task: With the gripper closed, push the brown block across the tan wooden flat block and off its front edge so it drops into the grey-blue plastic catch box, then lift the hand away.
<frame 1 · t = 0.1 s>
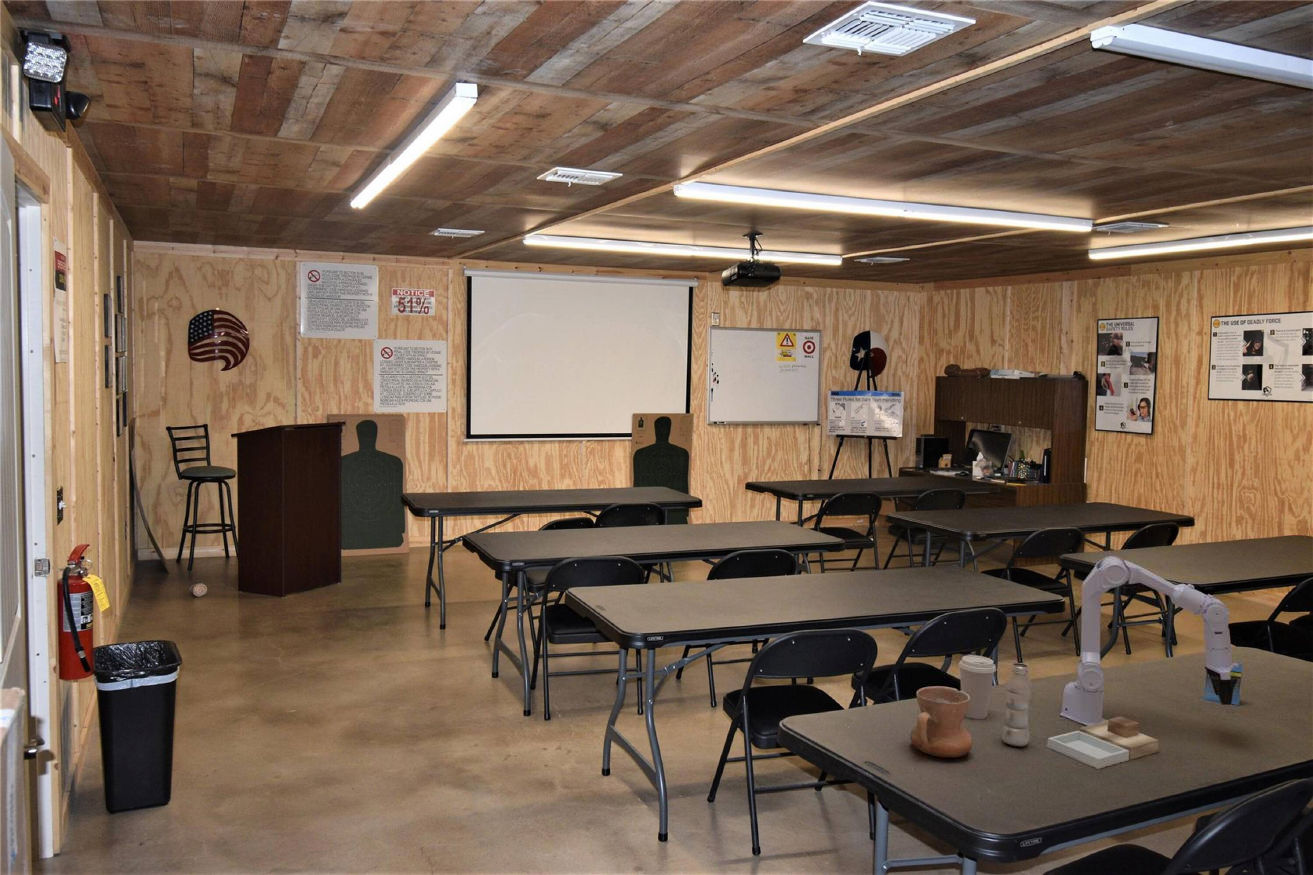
hand: (1223, 699, 252), 11 cm above the table, tool pointing down, fingers open, 7 cm apart
tan wooden flat block: (1117, 745, 246), on the table
brown block: (1122, 732, 247), point 3 cm above the table, touching tan wooden flat block
coffee cup: (974, 715, 265), on the table
label tape box: (1221, 701, 284), on the table
ceramic jug: (938, 752, 238), on the table
catch box: (1087, 753, 240), on the table
plastic bottle: (1014, 744, 245), on the table
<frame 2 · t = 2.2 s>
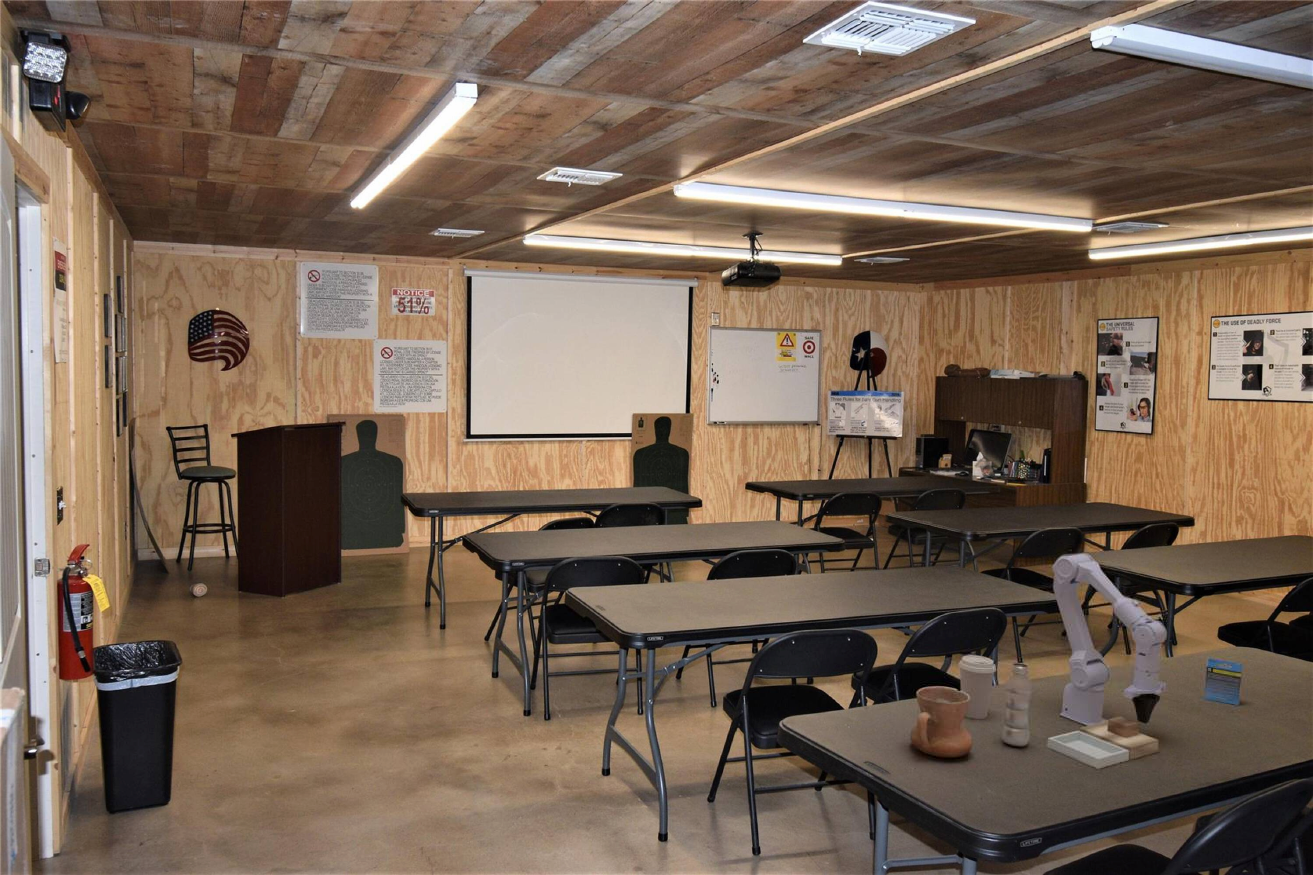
hand: (1142, 721, 251), 5 cm above the table, tool pointing down, fingers closed
nothing on the table moved.
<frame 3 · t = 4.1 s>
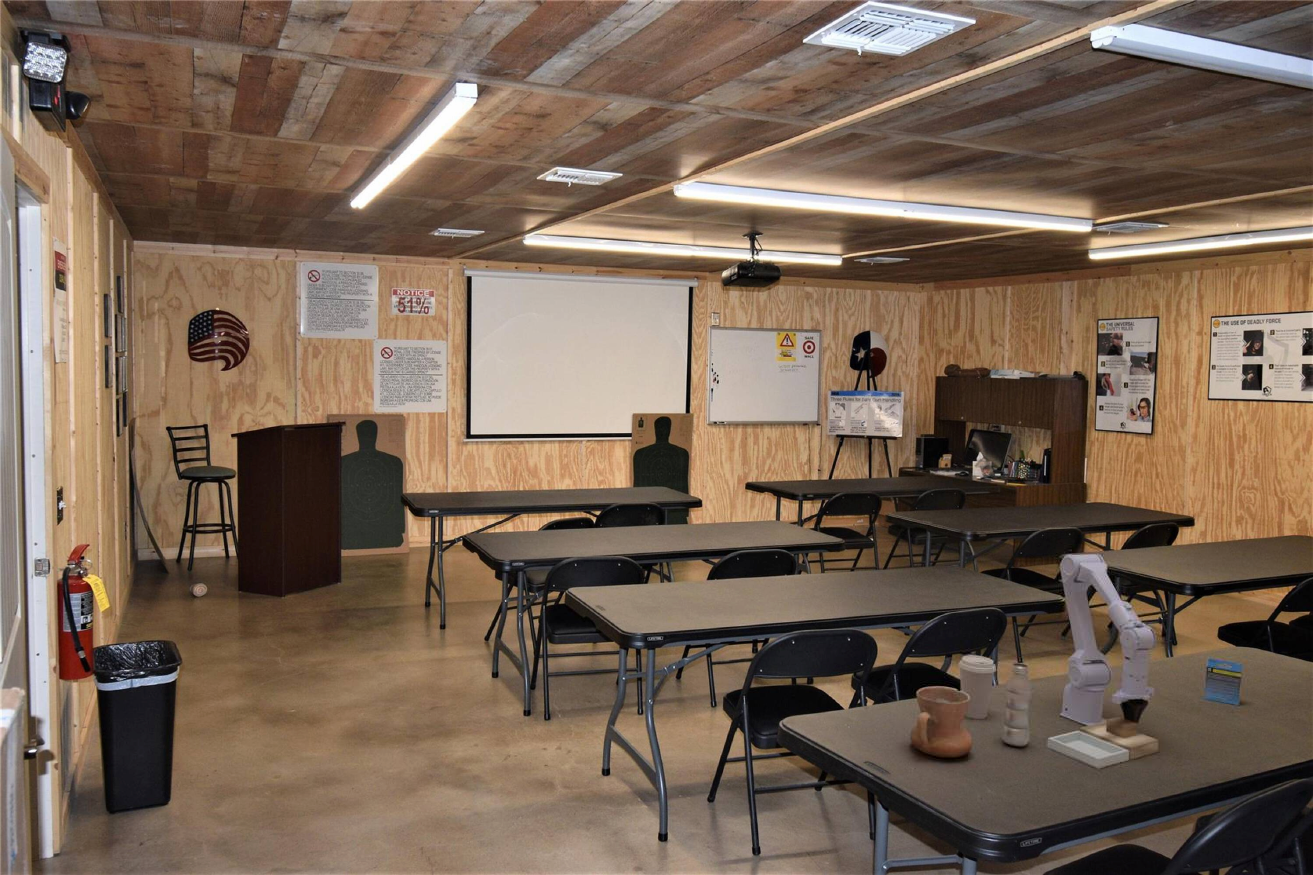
hand: (1130, 727, 249), 4 cm above the table, tool pointing down, fingers closed
brown block: (1121, 733, 247), point 3 cm above the table
everything else where it was.
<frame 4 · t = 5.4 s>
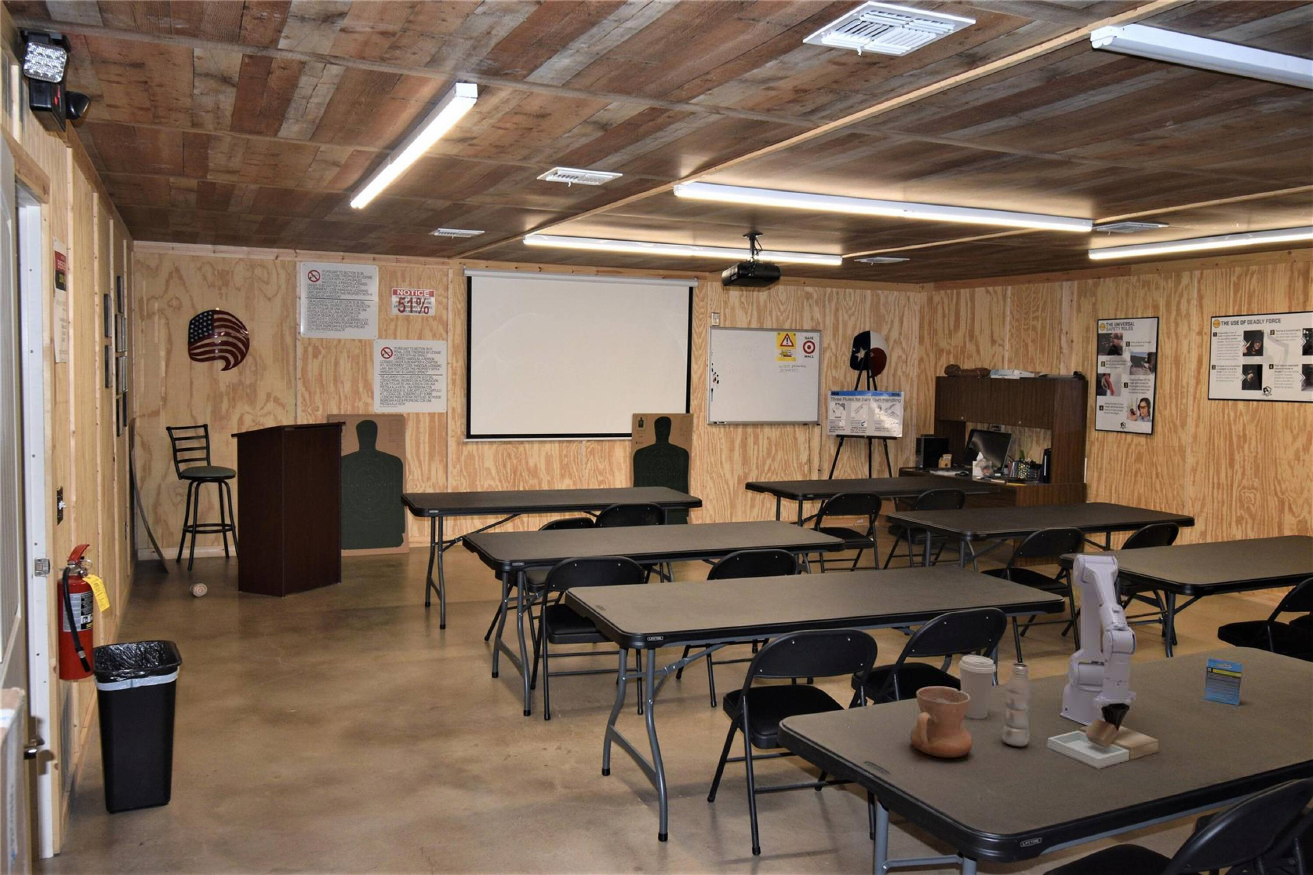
hand: (1112, 731, 245), 4 cm above the table, tool pointing down, fingers closed
brown block: (1103, 736, 243), point 3 cm above the table, tilted 39°, touching catch box
everything else where it was.
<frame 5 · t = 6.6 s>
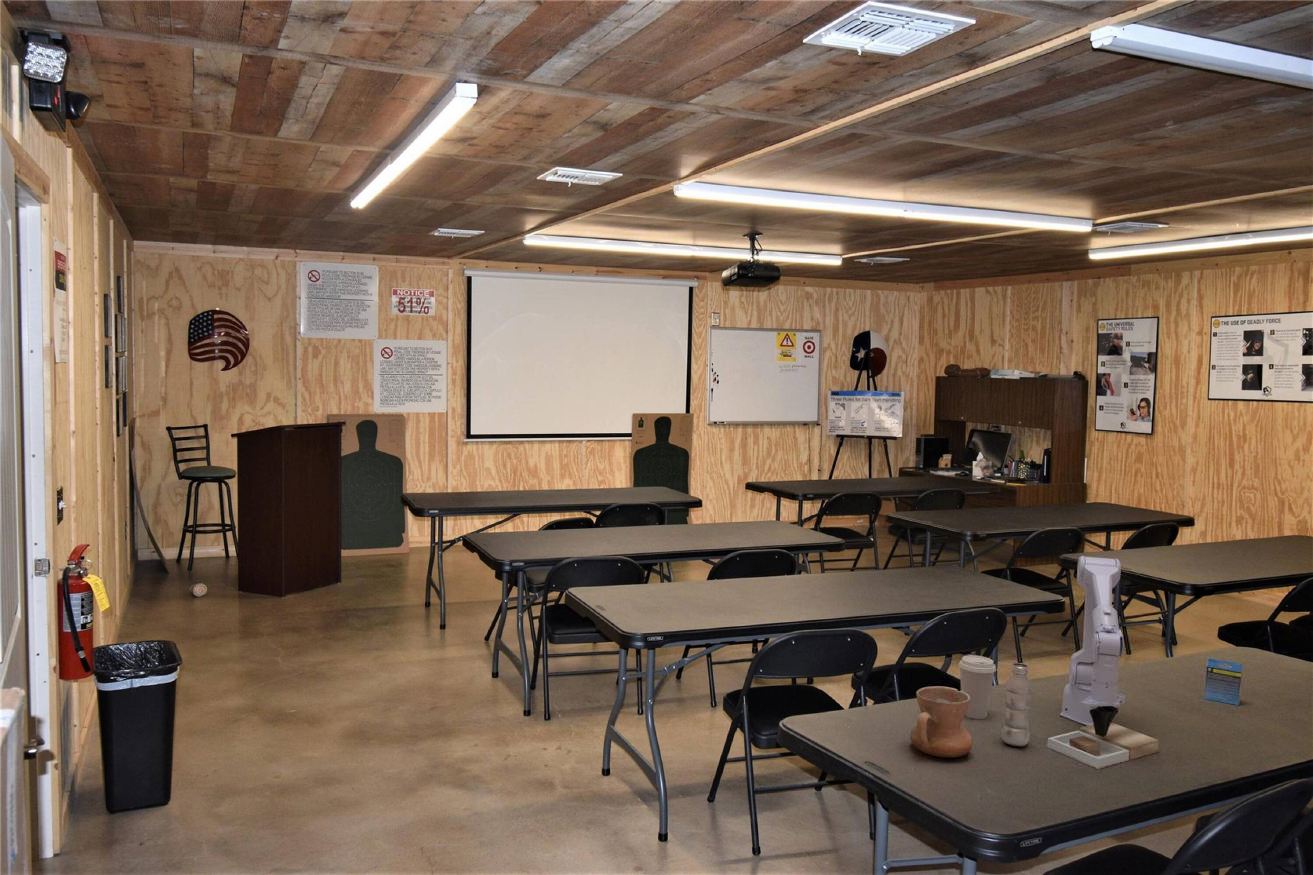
hand: (1100, 734, 242), 4 cm above the table, tool pointing down, fingers closed
brown block: (1085, 740, 240), point 3 cm above the table, tilted 180°, touching catch box
everything else where it was.
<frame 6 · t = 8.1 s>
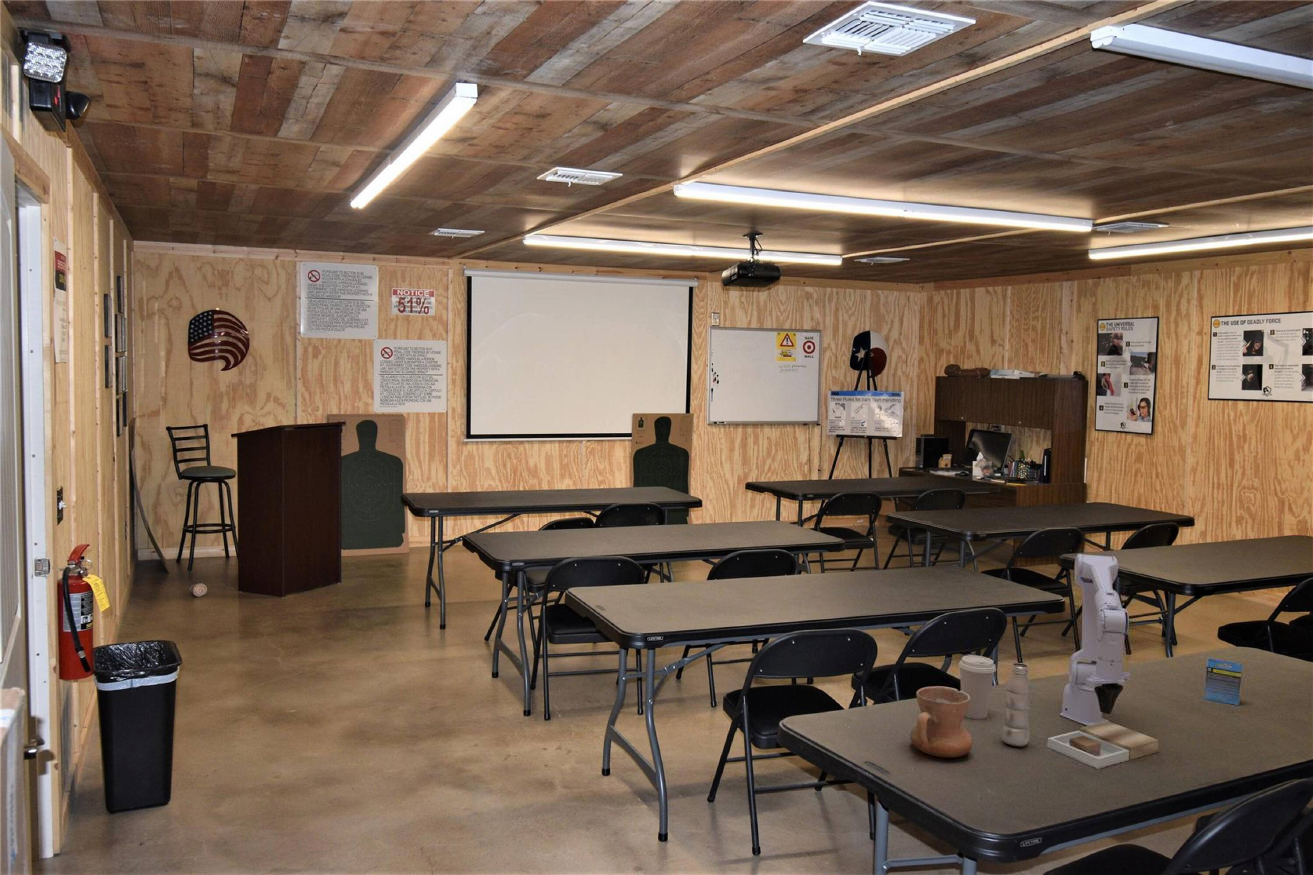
hand: (1105, 712, 243), 9 cm above the table, tool pointing down, fingers closed
nothing on the table moved.
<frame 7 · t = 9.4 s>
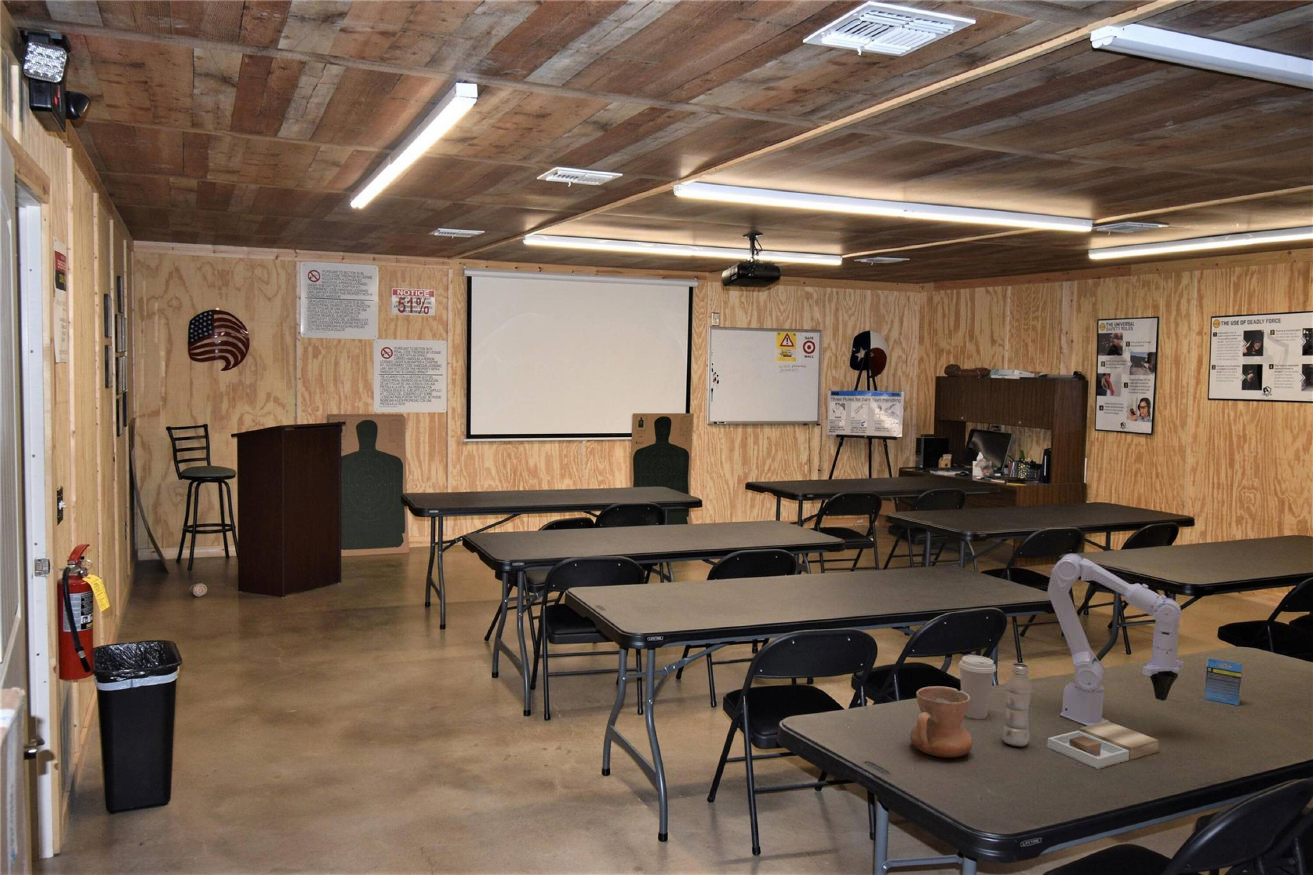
hand: (1160, 699, 254), 9 cm above the table, tool pointing down, fingers closed
nothing on the table moved.
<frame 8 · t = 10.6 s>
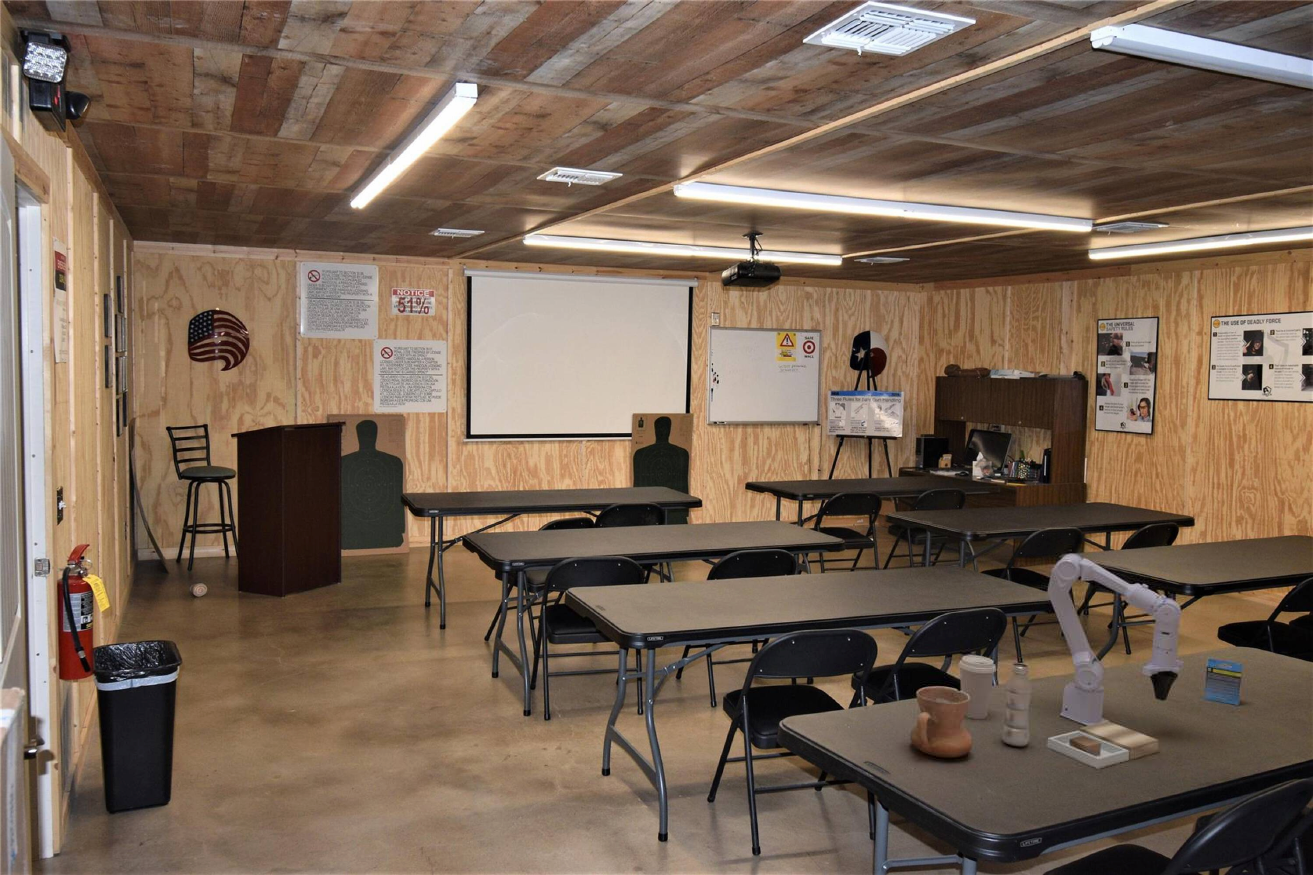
hand: (1160, 699, 254), 9 cm above the table, tool pointing down, fingers closed
nothing on the table moved.
at the end: brown block inside the target area on the catch box (1.0 cm from its centre), point 3.4 cm above the catch box's base; brown block touching catch box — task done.
